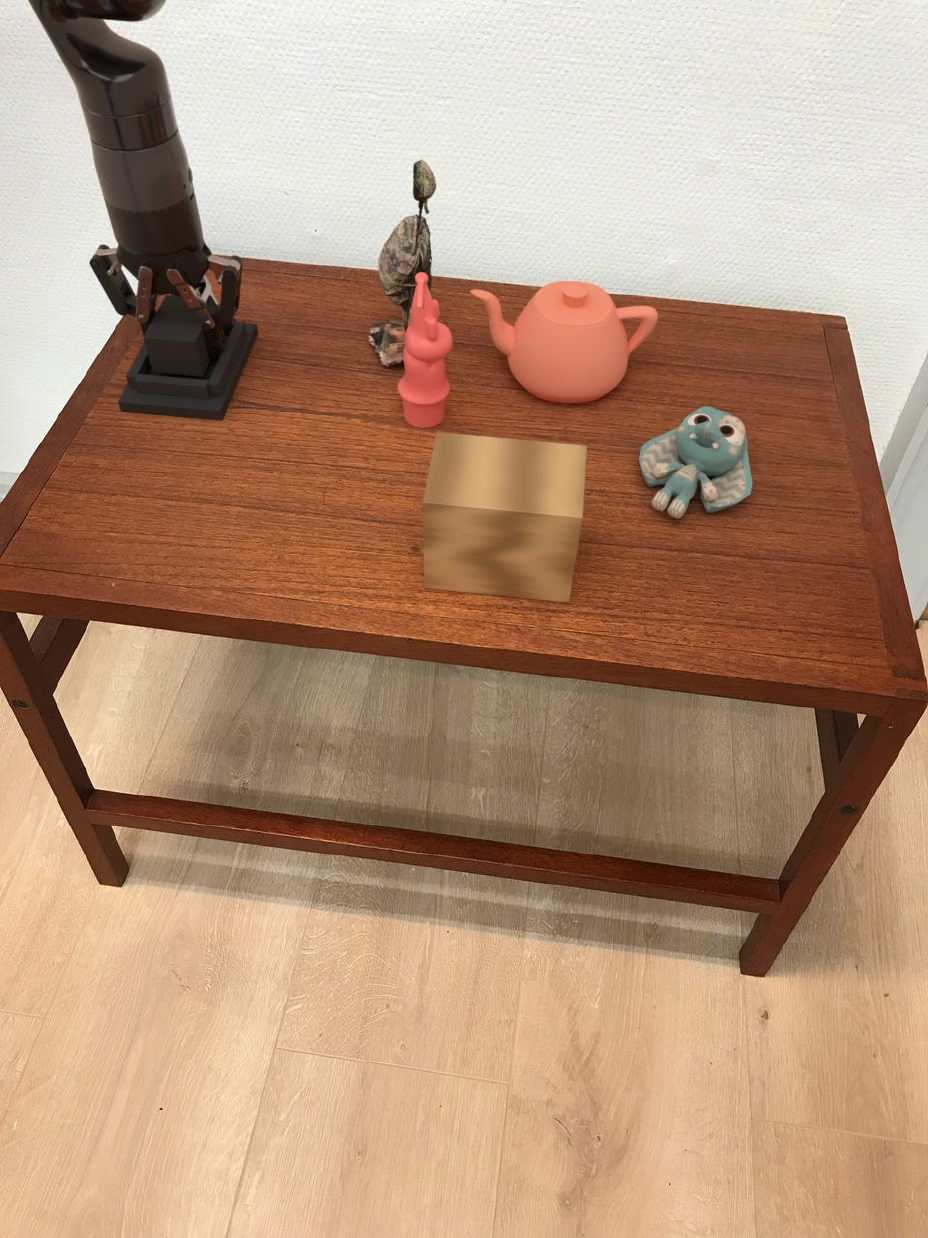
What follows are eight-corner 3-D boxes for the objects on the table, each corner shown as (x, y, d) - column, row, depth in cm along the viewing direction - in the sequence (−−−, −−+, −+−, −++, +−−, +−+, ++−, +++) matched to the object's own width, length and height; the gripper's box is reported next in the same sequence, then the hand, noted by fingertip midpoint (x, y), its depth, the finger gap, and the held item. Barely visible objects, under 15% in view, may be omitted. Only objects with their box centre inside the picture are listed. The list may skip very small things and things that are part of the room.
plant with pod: (451, 310, 105) (452, 120, 89) (440, 376, 98) (439, 182, 82) (376, 305, 105) (364, 115, 90) (359, 370, 98) (344, 176, 83)
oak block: (424, 588, 81) (422, 502, 73) (437, 519, 86) (436, 431, 78) (569, 603, 80) (583, 517, 72) (573, 532, 85) (587, 445, 77)
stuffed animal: (612, 456, 83) (678, 364, 87) (608, 506, 89) (671, 417, 94) (728, 508, 79) (791, 409, 84) (716, 556, 86) (776, 462, 90)
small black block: (203, 376, 94) (195, 341, 91) (152, 372, 94) (142, 337, 91) (223, 333, 98) (215, 298, 95) (174, 329, 99) (165, 294, 95)
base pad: (222, 420, 93) (217, 398, 91) (120, 411, 94) (113, 388, 92) (258, 333, 102) (254, 310, 100) (165, 325, 103) (159, 302, 100)
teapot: (650, 413, 95) (668, 330, 88) (465, 405, 95) (467, 322, 88) (642, 338, 102) (657, 255, 95) (470, 331, 103) (472, 248, 95)
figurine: (451, 433, 93) (452, 294, 81) (396, 432, 93) (390, 292, 81) (452, 399, 96) (454, 259, 84) (400, 397, 96) (394, 258, 84)
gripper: (48, 200, 81) (104, 369, 94) (217, 213, 80) (250, 382, 93) (81, 156, 86) (130, 323, 99) (241, 168, 85) (268, 335, 98)
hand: (188, 351), depth 96 cm, fingers closed on small black block, 5 cm apart
